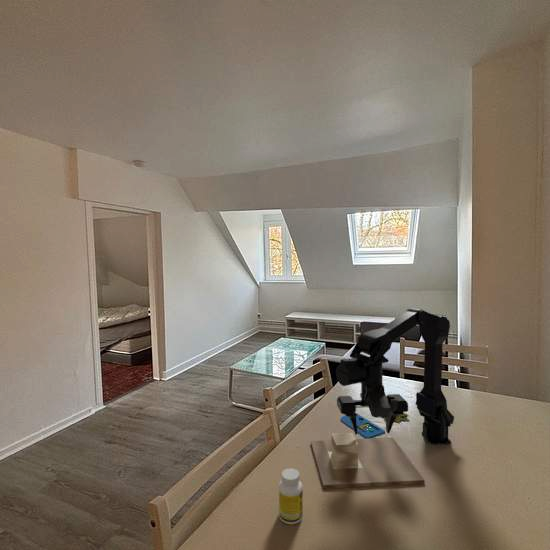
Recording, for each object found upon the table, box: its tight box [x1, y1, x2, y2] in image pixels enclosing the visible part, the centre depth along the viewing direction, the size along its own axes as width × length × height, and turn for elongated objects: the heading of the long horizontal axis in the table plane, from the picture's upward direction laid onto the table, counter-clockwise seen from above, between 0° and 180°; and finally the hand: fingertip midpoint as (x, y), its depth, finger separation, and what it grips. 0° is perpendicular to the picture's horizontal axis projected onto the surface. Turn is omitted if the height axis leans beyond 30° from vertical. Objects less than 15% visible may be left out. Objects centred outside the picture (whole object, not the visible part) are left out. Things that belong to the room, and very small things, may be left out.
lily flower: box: [383, 412, 410, 424], centre depth 120 cm, size 12×12×5 cm
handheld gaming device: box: [340, 412, 386, 439], centre depth 113 cm, size 8×1×15 cm
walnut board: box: [310, 437, 426, 490], centre depth 93 cm, size 26×20×1 cm
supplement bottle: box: [278, 467, 304, 525], centre depth 74 cm, size 5×5×10 cm
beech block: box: [331, 432, 358, 467], centre depth 93 cm, size 6×6×6 cm
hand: (371, 433), depth 93 cm, fingers open, 9 cm apart
